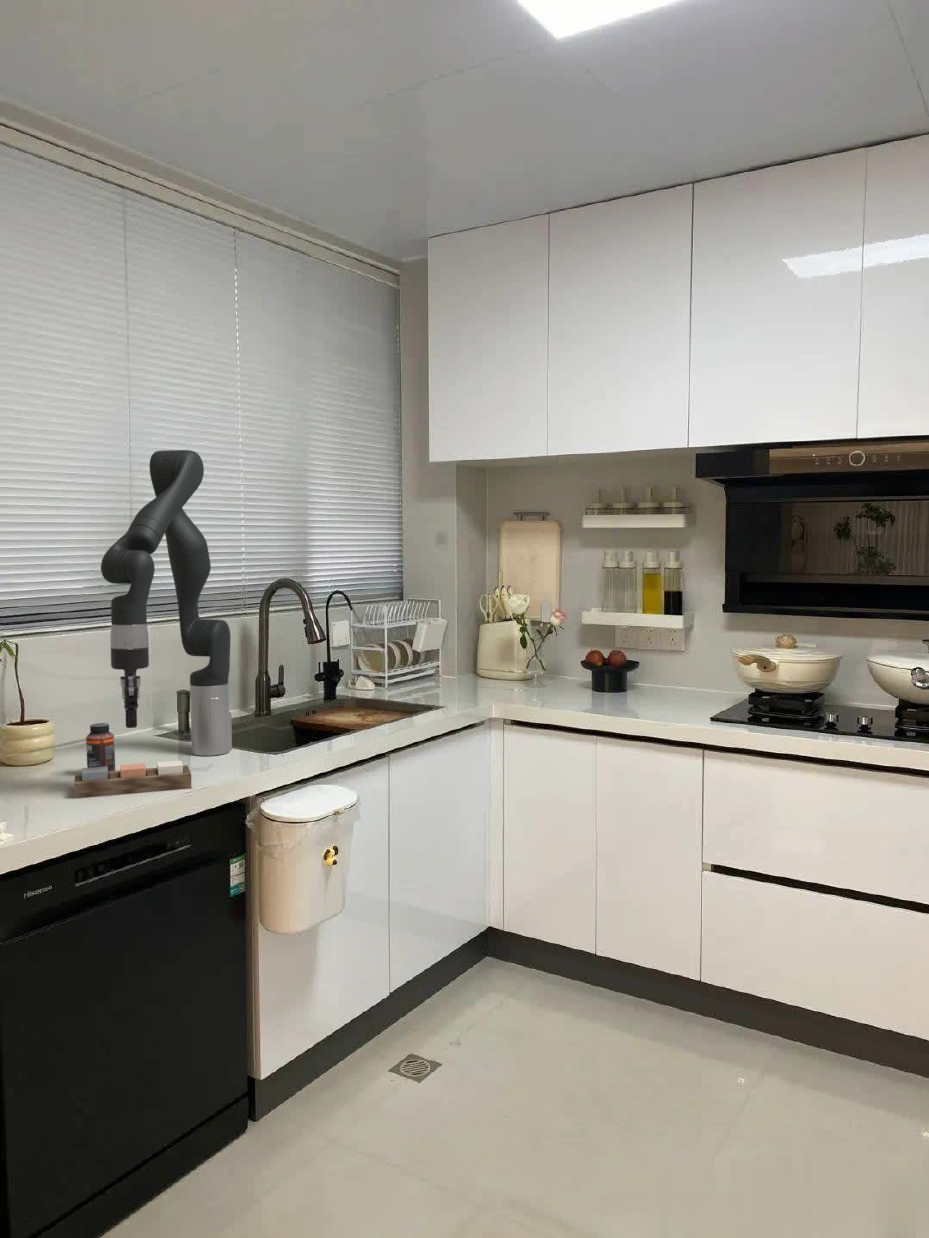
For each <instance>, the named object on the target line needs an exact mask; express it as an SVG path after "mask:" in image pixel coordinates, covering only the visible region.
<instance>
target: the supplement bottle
mask: <svg viewBox="0 0 929 1238" xmlns="http://www.w3.org/2000/svg"><path fill="white" fill-rule="evenodd" d="M89 730H90V732H89V734H87V736H86V737H85V742H86V744H85V745H86V747H85V748H86V766H87V767H86V768H91V767H104V766H108V771H116V753H115V752H116V751H115V736H114V734H113V733H112V732H110V724H109V723H108V722H96V723H92V724H90V725H89Z"/></svg>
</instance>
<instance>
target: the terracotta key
mask: <svg viewBox="0 0 929 1238" xmlns="http://www.w3.org/2000/svg"><path fill="white" fill-rule="evenodd" d="M119 767H120V768H119V771H120V776H121V778H129V777H141V776H146V763H145V762H144V763H133V764H131V763H130V764H129V763H128V764H120V765H119Z"/></svg>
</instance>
